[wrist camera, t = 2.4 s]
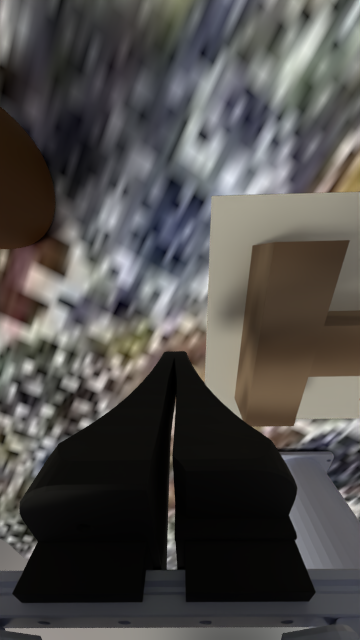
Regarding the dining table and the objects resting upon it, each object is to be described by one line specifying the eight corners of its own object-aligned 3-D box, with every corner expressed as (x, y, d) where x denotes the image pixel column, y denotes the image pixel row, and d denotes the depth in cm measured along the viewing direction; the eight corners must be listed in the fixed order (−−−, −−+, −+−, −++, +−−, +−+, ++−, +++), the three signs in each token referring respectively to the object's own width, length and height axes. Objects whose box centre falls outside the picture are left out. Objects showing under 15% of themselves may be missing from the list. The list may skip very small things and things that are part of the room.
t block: (375, 396, 17) (415, 424, 14) (234, 398, 17) (245, 426, 14) (454, 240, 12) (540, 235, 9) (252, 245, 12) (274, 241, 9)
